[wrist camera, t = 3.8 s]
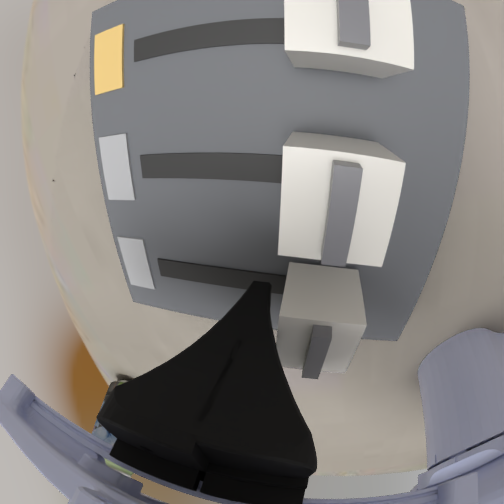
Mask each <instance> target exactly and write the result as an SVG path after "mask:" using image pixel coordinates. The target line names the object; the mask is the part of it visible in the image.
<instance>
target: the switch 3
mask: <svg viewBox="0 0 504 504" xmlns="http://www.w3.org/2000/svg"><path fill="white" fill-rule="evenodd" d="M366 326H367V323H366V316H365V308H364V301H363V295H362V289H361V283H360V277H359V271H358V270H355V269H346V268H337V267H328V266H320V265H311V264H303V263H294V262H289V266H288V272H287V277H286V283H285V288H284V293H283V298H282V303H281V309H280V314H279V321H278V331H277V341H276V347H277V351H278V355H279V358H280V362H281V365H282V367H287V368H295V369H303V371H302V378H312V379H318V377H319V374H320V372H321V371H322V372H334V373H346V371H347V369H348V366H349V364H350V362H351V360H352V358H353V356H354V354H355V351H356V349H357V347H358V345H359V342H360V340H361V338H362V335H363V333H364V331H365V328H366Z"/></svg>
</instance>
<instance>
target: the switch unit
mask: <svg viewBox="0 0 504 504" xmlns="http://www.w3.org/2000/svg"><path fill="white" fill-rule="evenodd" d="M410 2H411V11H412V22H413V39H414V70H411V71H407V72H403V73H400V74H396V75H392V76H389V77H385V78H377V77H372V76H367V75H361V74H355V73H348V72H341V71H333V70H324V69H313V68H299V67H294V66H293V64H292V62H291V61H290V59H289V57H288V55H287V54H286V52H285V28H284V0H117V1H115V2H113V3H110V4H108V5H106V6H104V7H102V8H100V9H98V10H96V11H94V12H92V22H91V38H90V91H91V108H92V120H93V130H94V139H95V146H96V154H97V160H98V167H99V173H100V178H101V184H102V189H103V194H104V199H105V204H106V208H107V213H108V217H109V221H110V226H111V230H112V233H113V237H114V241H115V245H116V248H117V252H118V256H119V259H120V262H121V266H122V269H123V272H124V275H125V279H126V282H127V285H128V288H129V291H130V294H131V296H132V299H133V302H136V303H140V304H144V305H149V306H153V307H157V308H161V309H166V310H170V311H175V312H179V313H184V314H189V315H194V316H199V317H204V318H209V319H214V320H220V319H222V318H223V317H224V316H225V314H226V313H227V312H228V311H229V310H230V309H231V308H232V307H233V306H234V305H235V303H236V302H237V301H238V300H239V299H240V298H241V296H242V295H243V294H244V293H245V291H246V290H247V289H248V287H249V286H250V284H251V283H252V282H253V281H261V282H269V283H270V284H271V285H272V289H271V306H270V314H271V321H272V328H273V329H275V330H278V321H279V314H280V309H281V303H282V298H283V293H284V288H285V283H286V277H287V272H288V266H289V262H294V263H303V264H311V265H320V266H328V267H337V268H346V269H355V270H358V271H359V277H360V283H361V289H362V295H363V301H364V308H365V316H366V323H367V326H366V328H365V331H364V333H363V335H362V338H361V339H372V340H389V341H397V340H398V338H399V337H400V335H401V333H402V331H403V329H404V327H405V325H406V323H407V321H408V319H409V317H410V315H411V313H412V311H413V309H414V307H415V305H416V303H417V300H418V298H419V296H420V294H421V291H422V289H423V287H424V285H425V282H426V280H427V277H428V275H429V272H430V270H431V267H432V265H433V262H434V259H435V257H436V254H437V251H438V248H439V245H440V243H441V240H442V237H443V233H444V230H445V227H446V224H447V220H448V217H449V214H450V210H451V206H452V202H453V199H454V195H455V190H456V186H457V182H458V177H459V172H460V167H461V162H462V156H463V150H464V143H465V136H466V128H467V118H468V105H469V78H470V73H469V46H468V34H467V25H466V18H465V11H464V6H463V5H460V4H458V3H456V2H454V1H452V0H410ZM292 132H305V133H315V134H325V135H333V136H341V137H348V138H355V139H362V140H368V141H374V142H378V143H379V144H381V145H382V146H384V147H385V148H386V149H388V150H389V151H391V152H392V153H393V154H395V155H396V156H397V157H399V158H400V159H401V160H403V161H404V162H405V163H406V165H405V171H404V177H403V183H402V188H401V193H400V198H399V203H398V207H397V212H396V216H395V220H394V224H393V228H392V232H391V236H390V240H389V244H388V247H387V251H386V254H385V258H384V261H383V265H382V267H377V266H368V265H359V264H351V263H346V266H345V267H339V266H330V265H322V264H321V260H316V259H308V258H299V257H291V256H282V255H278V243H279V225H280V206H281V184H282V158H283V145H284V144H285V142H286V141H287V139H288V138H289V136H290V135H291V133H292Z"/></svg>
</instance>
